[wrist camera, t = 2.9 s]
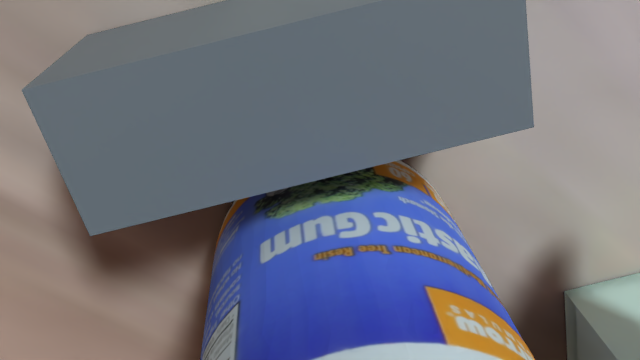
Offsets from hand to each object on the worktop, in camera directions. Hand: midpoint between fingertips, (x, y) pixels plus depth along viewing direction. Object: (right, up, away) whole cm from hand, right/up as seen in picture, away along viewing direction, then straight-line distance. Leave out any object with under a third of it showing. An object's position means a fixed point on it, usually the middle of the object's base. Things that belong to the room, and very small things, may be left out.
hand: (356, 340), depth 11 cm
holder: (0, +2, +3) cm, 3 cm away
